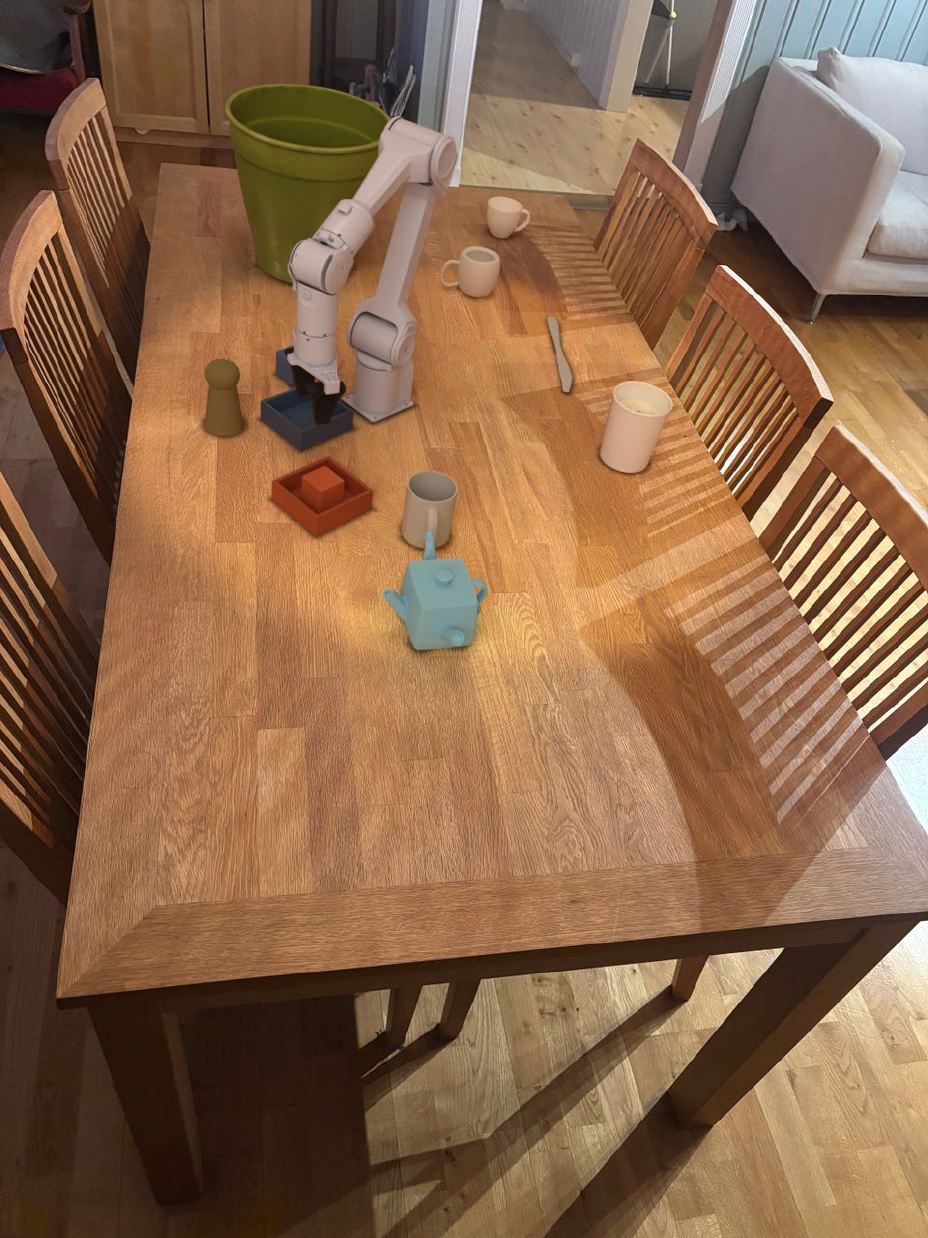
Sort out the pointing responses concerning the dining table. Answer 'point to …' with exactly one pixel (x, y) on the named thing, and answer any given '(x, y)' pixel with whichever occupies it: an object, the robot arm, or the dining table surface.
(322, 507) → the terracotta block
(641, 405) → the candle holder
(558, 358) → the butter knife
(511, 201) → the cup
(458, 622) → the teapot
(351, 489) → the terracotta bin
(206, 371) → the pepper mill
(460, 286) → the mug
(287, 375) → the blue block
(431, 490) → the cup
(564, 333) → the dining table surface
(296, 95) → the plant pot
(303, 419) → the blue bin
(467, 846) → the dining table surface
